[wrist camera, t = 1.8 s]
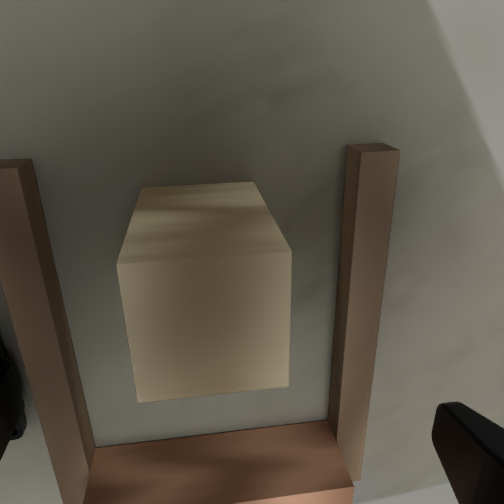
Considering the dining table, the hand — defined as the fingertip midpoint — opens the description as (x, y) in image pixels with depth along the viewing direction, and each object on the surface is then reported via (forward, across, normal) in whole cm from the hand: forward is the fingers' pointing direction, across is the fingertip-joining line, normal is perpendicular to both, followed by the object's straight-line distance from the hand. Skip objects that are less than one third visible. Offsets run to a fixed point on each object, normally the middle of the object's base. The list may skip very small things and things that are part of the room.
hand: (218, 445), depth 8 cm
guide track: (+11, 0, +5) cm, 12 cm away
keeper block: (+11, 0, 0) cm, 11 cm away
